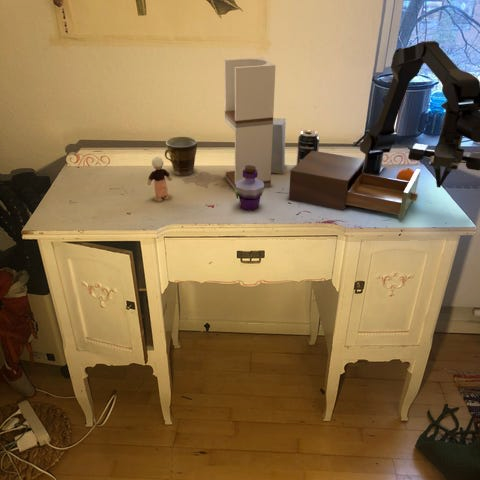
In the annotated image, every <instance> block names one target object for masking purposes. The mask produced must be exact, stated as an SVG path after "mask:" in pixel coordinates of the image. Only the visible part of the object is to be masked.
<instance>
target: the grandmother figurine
mask: <svg viewBox="0 0 480 480" xmlns="http://www.w3.org/2000/svg"><path fill="white" fill-rule="evenodd" d="M151 165H152V167H153V168H154V169H155V170H153V171H151V173H150V174H149V176H148V179H147V182H146V183H147V186H150V185H152V181H153V184H154V193H155V194H154V195H155V197H154V201H157V202H162V201H163V200H169V199H170V196H169V191H168V185H167V181H166V178H167V179H168V181H169V182H172V181H173V178H172V176H171V175H170V173H169V171H167V170H166V169H165V168H163V166H164V160H163V158H161V157H160V156H155V157H153V159H152V161H151Z"/></svg>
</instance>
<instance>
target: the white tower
mask: <svg viewBox="0 0 480 480" xmlns="http://www.w3.org/2000/svg"><path fill="white" fill-rule="evenodd" d="M223 63H224V65H223V69H224V72H223V74H224V75H223V76H224V123H225V124H226V125H227V126H228V127H230V129H231V130H232V131H233V132H234V170H230V171H225V179H226V181H227V182H228V183H229V185H230V186H231V187H232V188H233V190H234V191H235V192H236V182H237V181H239V180H242V179H245V178H244V177H243V170H245V166H247V165H252V166H255V167H256V170H257V177H256V178H255V179H257V180H260V181H262V182H264V188H269V187H271V182H272V181H271V179H272V173H271V158H272V135H273V118H274V109H275V88H276V87H275V85H276V64H274V63H272V62H271V61H269V60H267V59H266V58H264V57H250V58H249V57H248V58H247V57H246V58H233V59H231V58H230V59H224V60H223Z"/></svg>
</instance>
